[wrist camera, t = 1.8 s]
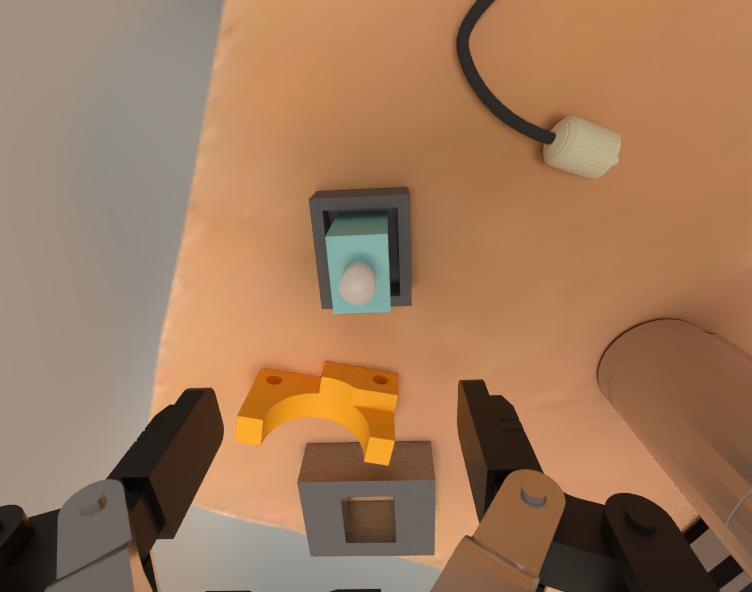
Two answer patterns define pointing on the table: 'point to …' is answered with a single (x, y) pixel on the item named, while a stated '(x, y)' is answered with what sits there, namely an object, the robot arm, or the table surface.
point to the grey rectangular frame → (398, 210)
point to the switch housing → (368, 518)
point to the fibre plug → (359, 262)
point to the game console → (717, 560)
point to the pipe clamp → (325, 405)
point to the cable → (561, 144)
